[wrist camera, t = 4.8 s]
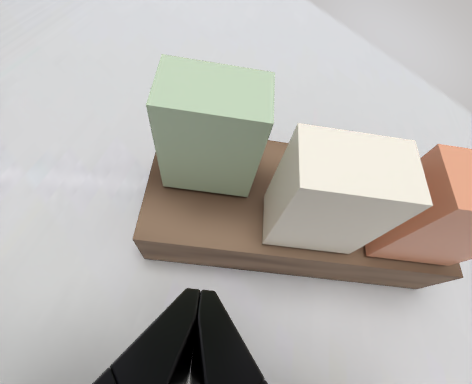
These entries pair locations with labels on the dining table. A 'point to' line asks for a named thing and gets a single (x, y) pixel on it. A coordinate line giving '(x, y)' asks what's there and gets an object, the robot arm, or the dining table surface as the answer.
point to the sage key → (210, 123)
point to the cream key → (342, 189)
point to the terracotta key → (436, 214)
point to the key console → (256, 236)
